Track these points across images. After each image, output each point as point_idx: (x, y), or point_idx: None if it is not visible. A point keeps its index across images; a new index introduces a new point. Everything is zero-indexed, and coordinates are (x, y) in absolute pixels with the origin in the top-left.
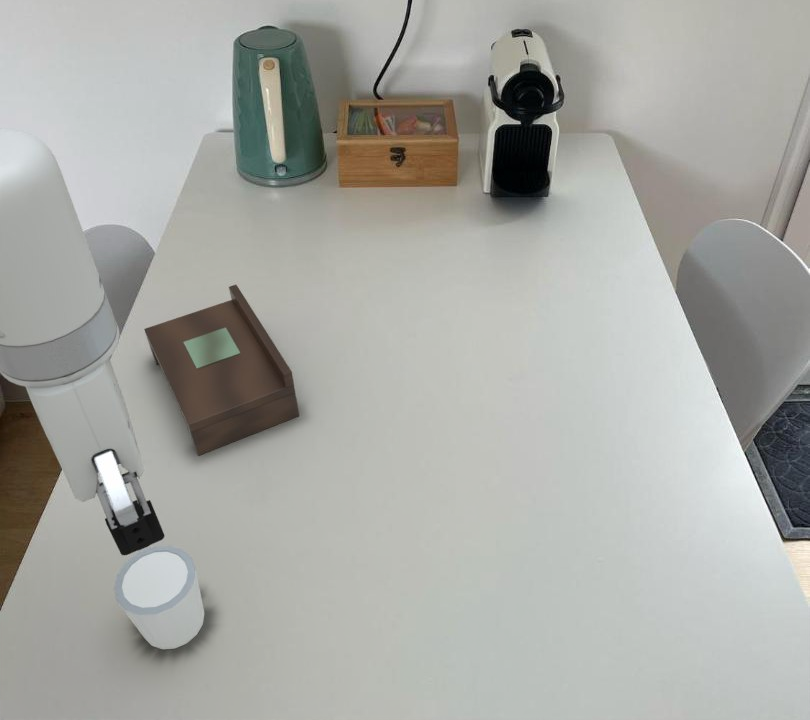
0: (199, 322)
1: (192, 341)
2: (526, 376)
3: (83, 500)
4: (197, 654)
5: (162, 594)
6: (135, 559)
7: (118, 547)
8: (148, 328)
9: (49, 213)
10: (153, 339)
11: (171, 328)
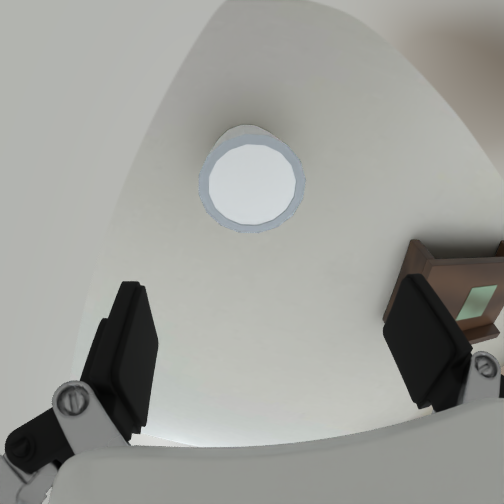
0: (499, 299)
1: (492, 291)
2: (298, 418)
3: (57, 473)
4: (195, 167)
5: (223, 188)
6: (296, 173)
7: (115, 300)
8: None
9: None
10: None
11: None
